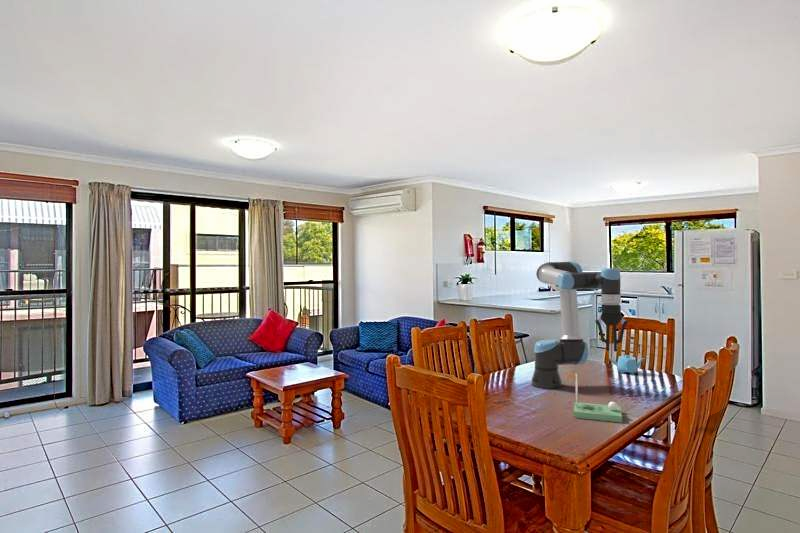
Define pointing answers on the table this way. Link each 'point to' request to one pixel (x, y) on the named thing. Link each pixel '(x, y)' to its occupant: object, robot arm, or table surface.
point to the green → (594, 409)
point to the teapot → (627, 364)
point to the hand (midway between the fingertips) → (611, 358)
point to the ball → (612, 406)
